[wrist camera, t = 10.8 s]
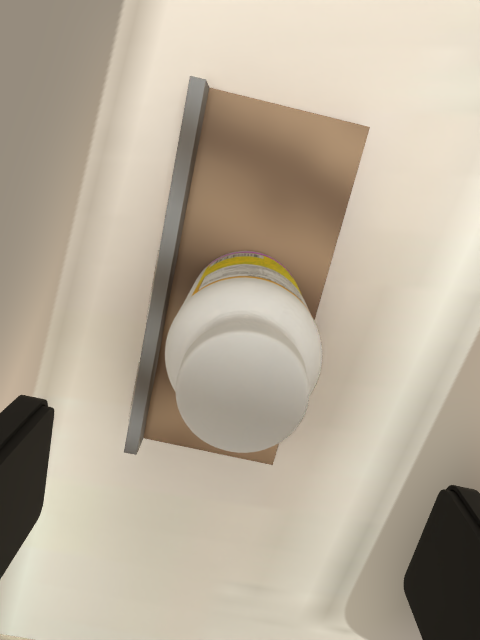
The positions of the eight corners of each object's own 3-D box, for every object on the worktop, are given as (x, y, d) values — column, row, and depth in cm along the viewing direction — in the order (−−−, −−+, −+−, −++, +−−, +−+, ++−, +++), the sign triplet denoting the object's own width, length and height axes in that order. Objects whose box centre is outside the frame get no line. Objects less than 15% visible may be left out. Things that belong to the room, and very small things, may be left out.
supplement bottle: (254, 373, 29) (254, 510, 17) (170, 311, 28) (107, 410, 16) (323, 293, 28) (378, 382, 16) (237, 224, 27) (223, 261, 14)
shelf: (271, 448, 33) (274, 483, 29) (135, 420, 33) (120, 451, 29) (361, 131, 27) (379, 122, 23) (195, 90, 27) (186, 74, 23)
